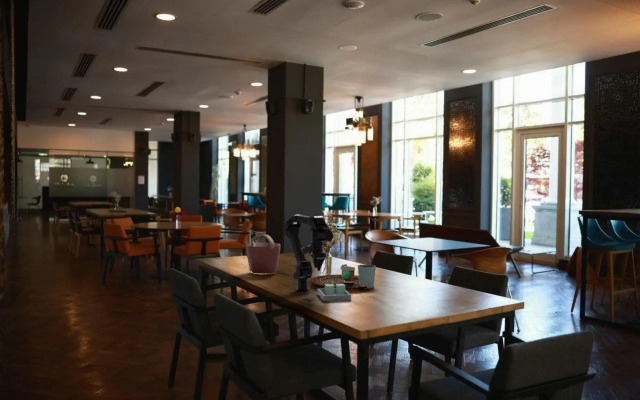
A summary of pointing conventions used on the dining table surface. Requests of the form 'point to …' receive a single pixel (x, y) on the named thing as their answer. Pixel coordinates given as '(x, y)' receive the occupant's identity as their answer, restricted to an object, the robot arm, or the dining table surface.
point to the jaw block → (329, 289)
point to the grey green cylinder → (366, 275)
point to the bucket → (263, 255)
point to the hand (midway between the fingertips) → (317, 269)
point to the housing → (335, 294)
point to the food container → (347, 272)
